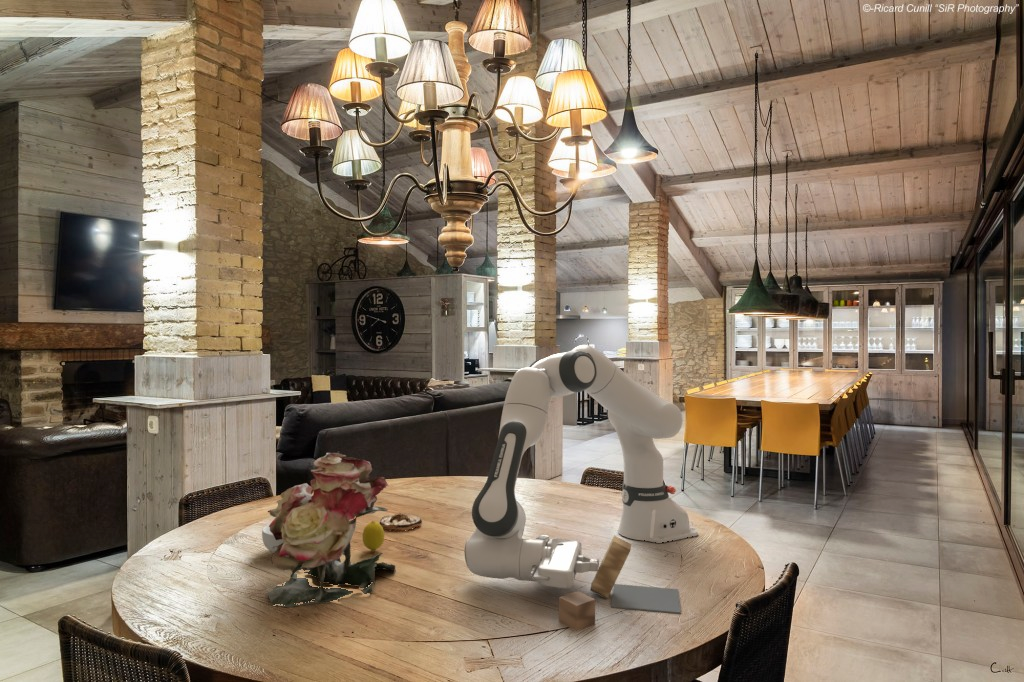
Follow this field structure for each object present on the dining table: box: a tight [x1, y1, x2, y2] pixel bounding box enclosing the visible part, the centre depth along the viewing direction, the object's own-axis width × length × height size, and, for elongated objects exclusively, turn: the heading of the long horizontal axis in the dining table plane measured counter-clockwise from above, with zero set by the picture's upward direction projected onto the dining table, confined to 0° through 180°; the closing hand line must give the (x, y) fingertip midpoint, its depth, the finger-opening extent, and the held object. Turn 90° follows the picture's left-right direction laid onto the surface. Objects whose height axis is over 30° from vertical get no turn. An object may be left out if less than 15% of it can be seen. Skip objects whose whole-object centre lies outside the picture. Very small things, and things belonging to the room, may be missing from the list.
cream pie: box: [379, 512, 423, 532], centre depth 188 cm, size 15×15×4 cm
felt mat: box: [610, 583, 682, 615], centre depth 135 cm, size 14×12×1 cm
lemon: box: [362, 520, 385, 552], centre depth 165 cm, size 6×6×8 cm
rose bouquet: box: [266, 452, 397, 608], centre depth 142 cm, size 26×29×30 cm
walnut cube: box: [558, 590, 596, 632], centre depth 124 cm, size 5×5×5 cm
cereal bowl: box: [261, 523, 289, 557], centre depth 164 cm, size 17×17×7 cm
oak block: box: [589, 535, 632, 600], centre depth 137 cm, size 4×4×12 cm
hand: (598, 565), depth 137 cm, fingers closed
